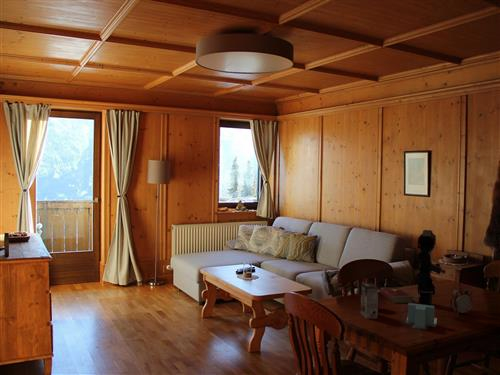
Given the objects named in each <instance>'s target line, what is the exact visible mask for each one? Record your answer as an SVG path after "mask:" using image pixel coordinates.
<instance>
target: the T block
mask: <svg viewBox="0 0 500 375" xmlns="http://www.w3.org/2000/svg"><path fill="white" fill-rule="evenodd" d="M407 317H408V323H407V324H410V323H415V327H416V328H415V329H419V328H423V329H422V330H426V329H425V325H429V326H428V327H432V326H434V318H435V306H434V305H421V304H419V303H413V302H412V303H408V304H407Z"/></svg>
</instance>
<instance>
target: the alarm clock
mask: <svg viewBox="0 0 500 375" xmlns="http://www.w3.org/2000/svg"><path fill="white" fill-rule="evenodd" d="M461 287H465V289H463V290H460V289H459V288H461ZM450 306H451V308H452V309H453V310H454V311H453V312H454V313H455V312H457V313H456V314H457V315H459V313H461V314H465V313H467V315H468V314H469V311H470V310H471V309H472V306H473V298H472V291H471V290H470V288H468V286H467V285H464V284H463V285H458V286H457V287H456V288H454V290H453V291H452V295H451V297H450Z"/></svg>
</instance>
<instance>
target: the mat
mask: <svg viewBox="0 0 500 375" xmlns="http://www.w3.org/2000/svg"><path fill="white" fill-rule="evenodd" d="M437 320H438V318H437V317H434V326H431V327H434V328H437ZM405 323H406V324H410V325H411V324H412V329H413V328H414V329H417V328H416V327H415V323H408V316H407V317H406V320H405ZM428 327H430V326H429V325H425V329H423V328H418V329H419V330H420V329H421V330H427V329H428Z"/></svg>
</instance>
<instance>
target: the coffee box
mask: <svg viewBox="0 0 500 375" xmlns="http://www.w3.org/2000/svg"><path fill="white" fill-rule="evenodd" d="M378 290H379V287H378V286H377V285H375V283H373V282H371V283H369V282H362V283H360V314H361V316H363V317H364V318H365V319H378V316H379V315H378V312H379V310H378V309H379V300H378Z"/></svg>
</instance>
